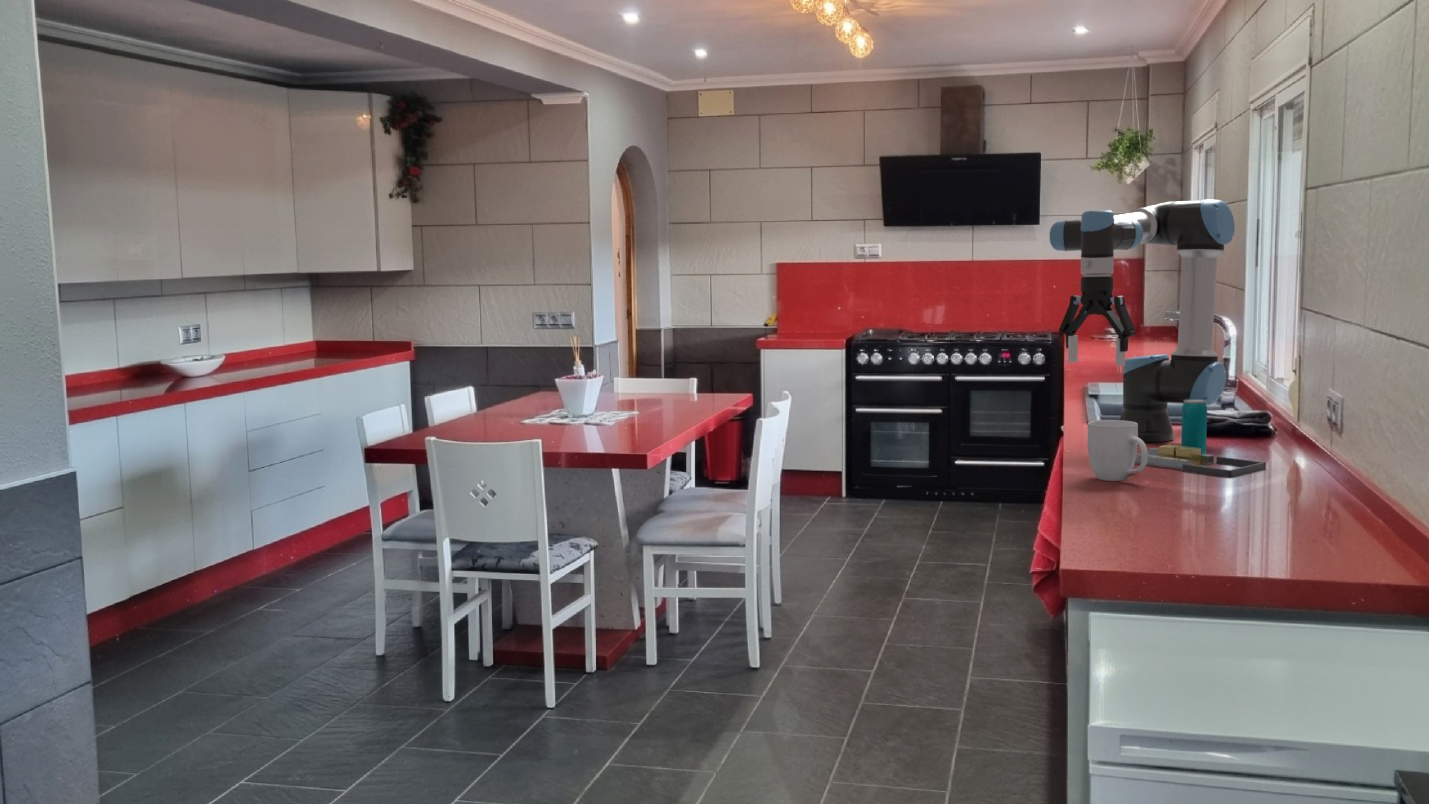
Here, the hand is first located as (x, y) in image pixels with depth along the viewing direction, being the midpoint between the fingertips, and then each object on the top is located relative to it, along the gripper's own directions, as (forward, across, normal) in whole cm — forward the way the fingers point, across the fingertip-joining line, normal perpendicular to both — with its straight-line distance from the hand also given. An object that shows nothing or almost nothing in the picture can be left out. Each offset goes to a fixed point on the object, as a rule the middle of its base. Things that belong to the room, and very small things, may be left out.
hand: (1096, 363), depth 297 cm
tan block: (+24, +14, +10) cm, 29 cm away
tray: (+25, +28, +10) cm, 39 cm away
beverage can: (+26, +12, +23) cm, 37 cm away
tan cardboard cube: (+24, +19, +10) cm, 32 cm away
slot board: (+25, +14, +10) cm, 30 cm away
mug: (+25, +13, -10) cm, 30 cm away
